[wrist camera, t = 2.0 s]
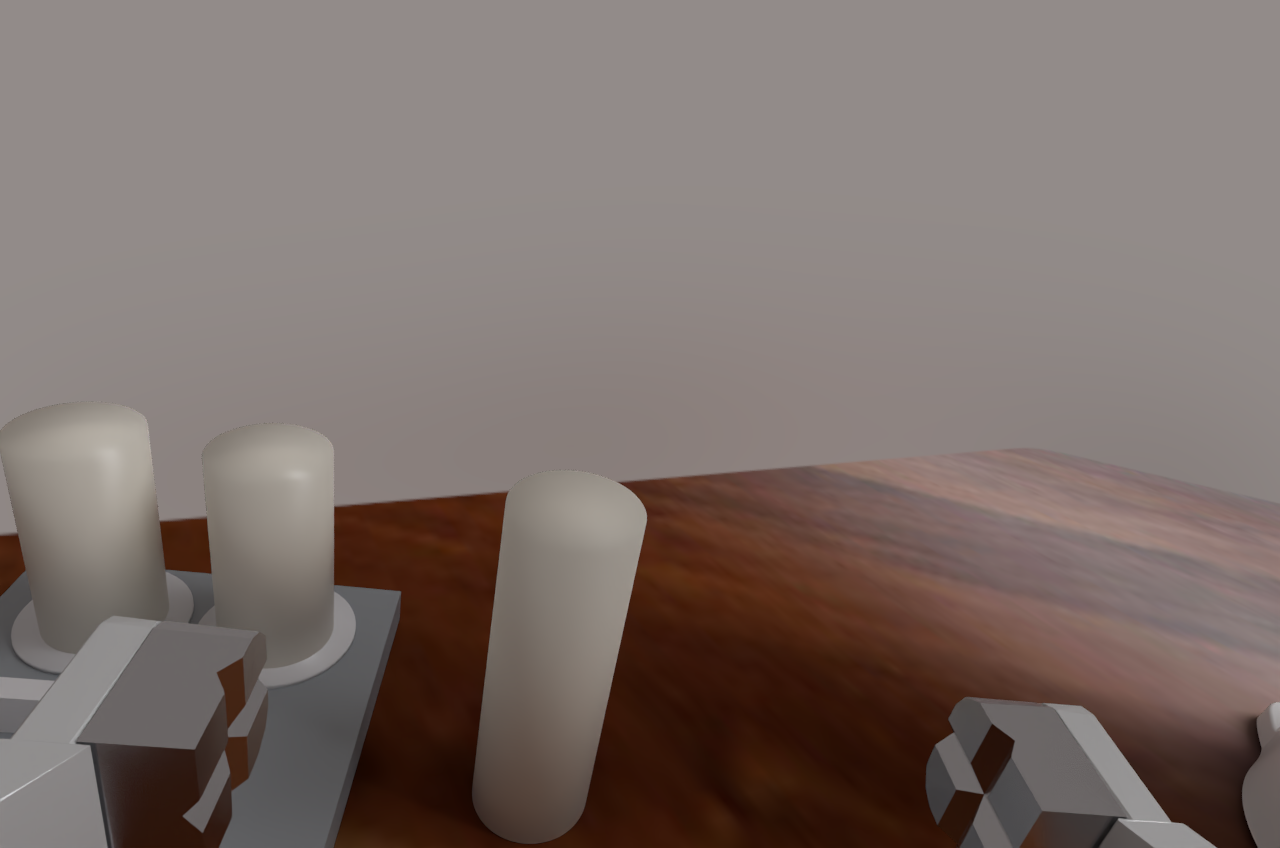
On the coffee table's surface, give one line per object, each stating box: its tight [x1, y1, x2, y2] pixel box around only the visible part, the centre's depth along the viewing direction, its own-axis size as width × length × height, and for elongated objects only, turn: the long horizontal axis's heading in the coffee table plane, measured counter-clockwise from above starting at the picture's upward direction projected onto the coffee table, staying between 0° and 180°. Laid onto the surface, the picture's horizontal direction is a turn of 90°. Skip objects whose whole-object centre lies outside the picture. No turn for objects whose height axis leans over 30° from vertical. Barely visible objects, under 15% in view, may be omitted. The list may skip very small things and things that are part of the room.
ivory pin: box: [472, 470, 647, 844], centre depth 25 cm, size 4×4×12 cm
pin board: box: [0, 402, 401, 848], centre depth 24 cm, size 14×16×10 cm
